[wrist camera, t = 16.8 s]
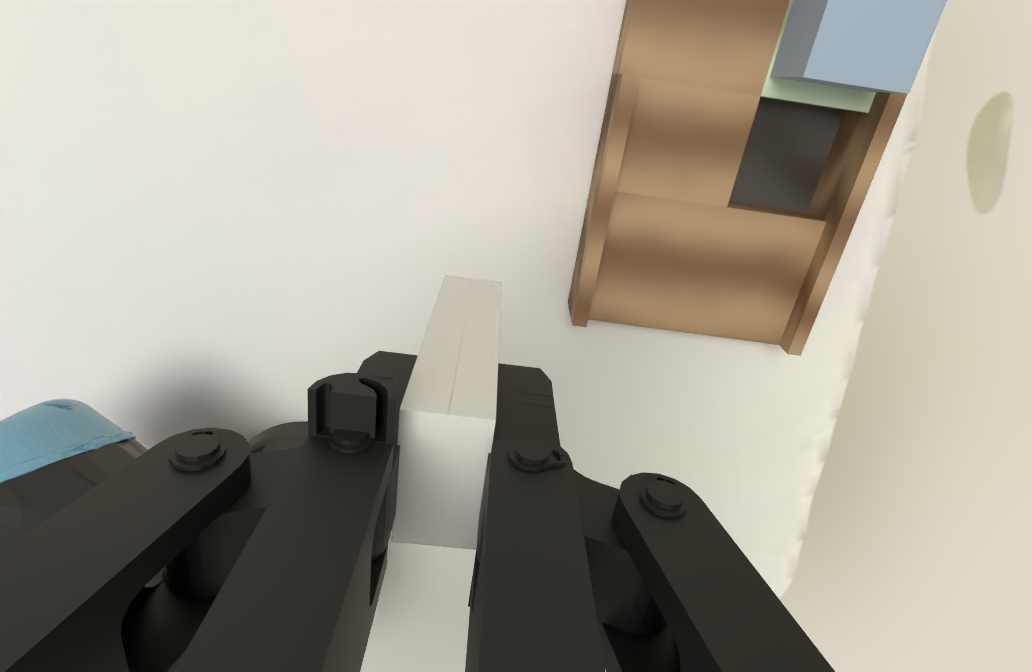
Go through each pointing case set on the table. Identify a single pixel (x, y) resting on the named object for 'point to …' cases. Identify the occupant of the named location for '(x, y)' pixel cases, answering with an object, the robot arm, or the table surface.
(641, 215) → the wooden tray
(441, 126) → the table surface
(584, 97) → the table surface
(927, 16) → the block
